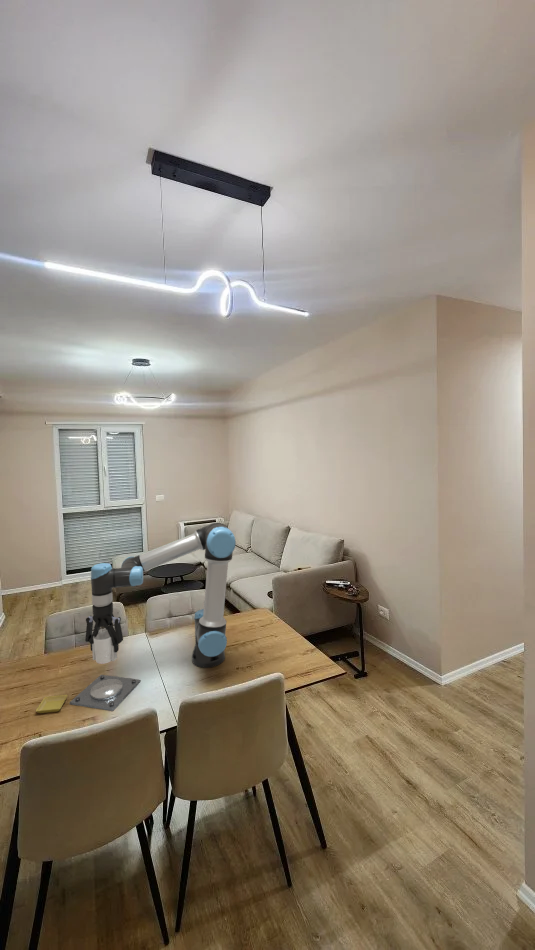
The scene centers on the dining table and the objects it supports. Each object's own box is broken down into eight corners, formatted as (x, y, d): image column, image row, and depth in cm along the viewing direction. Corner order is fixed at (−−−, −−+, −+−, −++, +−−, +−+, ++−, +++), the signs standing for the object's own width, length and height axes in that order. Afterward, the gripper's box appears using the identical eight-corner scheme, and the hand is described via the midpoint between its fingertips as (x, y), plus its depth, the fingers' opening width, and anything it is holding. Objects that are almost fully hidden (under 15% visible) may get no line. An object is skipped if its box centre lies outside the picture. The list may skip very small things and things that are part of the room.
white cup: (109, 665, 153) (108, 640, 152) (90, 664, 154) (89, 639, 153) (119, 654, 161) (118, 631, 160) (101, 653, 161) (99, 630, 161)
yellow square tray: (68, 699, 155) (68, 694, 155) (60, 713, 146) (60, 708, 146) (45, 701, 153) (44, 696, 153) (35, 716, 145) (35, 711, 145)
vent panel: (140, 681, 165) (140, 676, 165) (113, 711, 147) (112, 705, 147) (101, 676, 169) (100, 671, 169) (69, 704, 151) (69, 699, 151)
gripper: (131, 600, 158) (133, 655, 159) (84, 598, 161) (87, 652, 162) (121, 608, 150) (124, 665, 152) (73, 605, 153) (75, 662, 155)
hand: (105, 658), depth 157 cm, fingers closed on white cup, 7 cm apart
